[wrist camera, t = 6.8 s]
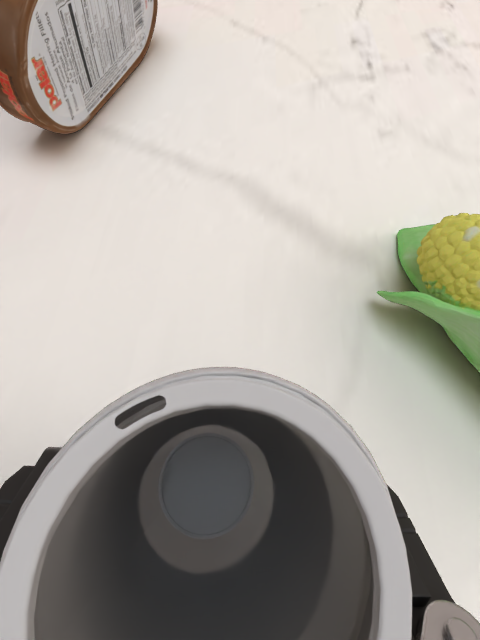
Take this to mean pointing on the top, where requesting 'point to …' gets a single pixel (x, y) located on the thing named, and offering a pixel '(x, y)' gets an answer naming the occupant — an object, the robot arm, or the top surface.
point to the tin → (69, 56)
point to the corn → (445, 277)
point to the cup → (209, 523)
